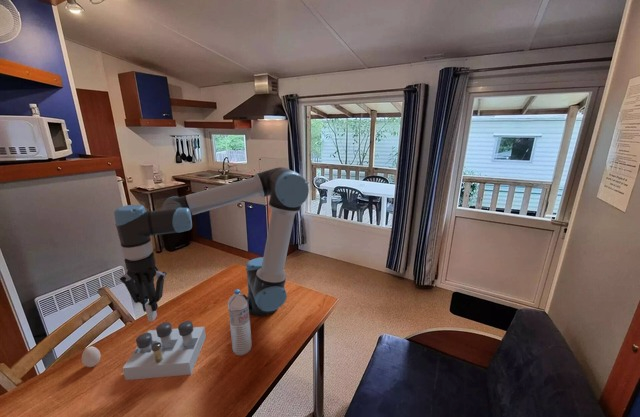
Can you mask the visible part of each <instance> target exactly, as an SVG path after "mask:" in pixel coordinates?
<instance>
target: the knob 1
mask: <svg viewBox="0 0 640 417" xmlns="http://www.w3.org/2000/svg"><path fill="white" fill-rule="evenodd" d="M152 341H153V340H152V335H151V333H147V332H144V333H141V334H140V335H138V336H137V337H136V339H135V343H136V348H137V347H138V348H141V352H142V353H148V352H151V350H152V348H151V343H152Z"/></svg>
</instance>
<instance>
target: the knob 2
mask: <svg viewBox="0 0 640 417" xmlns="http://www.w3.org/2000/svg"><path fill="white" fill-rule="evenodd" d="M193 324H194V323H193V322H192V321H191V320H185V321H183V322H181V323H179V325H178V326H177V328H178V330H179V335H181V336H182V339H183V344H184V346H189V345H191V344H192V343H193V338H192V332H193V327H194V325H193Z"/></svg>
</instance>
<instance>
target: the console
mask: <svg viewBox="0 0 640 417" xmlns="http://www.w3.org/2000/svg"><path fill="white" fill-rule="evenodd" d="M146 333H151V335H152V340H153V341H152V343H151V346H152V345H153V344H154V343H157V342H160V343H161V338H160V337H158V336H157V331H156V329H151V330H150V329H149V330H148V331H147V332H146ZM192 338H193V343H192V344H191V345H189V346H184V344H183V339H182V336H181V335H179V330H178V327H177V328H172V332H171V340H172V344H171V345H170V346H169V347H167V348H163V347H162V343H161V353H162V358H163V360H162V361H161V362H159V363H156V361H155V357H154V352H153V351H152V350H151V352H148V353H142V352H141V348H138V347H137V346H136V348H135V349H134V351H133V352H132V354H131V355H130V357H128V360H127V361H126V363H125V364H124V365H123V367H122V372H123V375H124V379H125V381H132V380H143V379H154V378H164V377H167V378H169V377H176V376H188V375H189V376H190V375H192V374H193V371H194V368H195V366H196V363H197V361H198V359H199V356H200V354H201V350H202V348H203V345H204V343H205V340H206V338H207V336H206V328H205V326H195V327H194V326H193V332H192Z"/></svg>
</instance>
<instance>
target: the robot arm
mask: <svg viewBox="0 0 640 417" xmlns="http://www.w3.org/2000/svg"><path fill="white" fill-rule="evenodd" d="M309 190H310V188H309V184H308V181H307V180H306V178H304V177H303V176H302V175H301V174H300V173H298V172H297V171H294V170H292V169H290V168H288V167H282V166H281V167H274V168H270V169H269V170H268V169H267V170H263V171H260V172H257V173H255V174H254V176H253V177H248V178H246V179H242V180H239V181H234V182H230V183H228V184H227V183H226V184H223V185H219V186H216V187H212V188H208V189H204V190H202V191H197V192H194V193H190V194H187V195H182V196H171V197H168V198H167V199H166V200H164V201H163V203H162V204H161V209H158V210H147V209H146V207H145V206H144V205H142V204H128V205H124V206H120V207H117V208H116V209H115V210H114V211H113V215H114V216H113V217H114V220H115V227H116V231H117V235H118V238H119V239H118V240H119V241H120V247H121V252H122V257H123V259H124V263H125V264H124V265H125V269H126V270H127V271H126V273H125V274H123V275H122V276H121V277H120V278H119V281H120V282H122V284H124V286H125V287H126V289H127V292H128V293H129V296H131V298H132V300H133V302H134V303H135V304H138V303H139V304H141V306H142V309H143V312H144V313H145V312H146V315H147V316H146V317H147V320H148V322H154V320H156V318H157V316H158V313H157V310H158V309H159V308H158V307H159V306H158V302H160V300H161V299H162V297H163V293H164V282H165V278H166V276H167V272H166V271H163V272H162V271H159V269H158V268H157V266H156V259H155V254H154V249H153V243H152V239H151V238H152V237H153V236H160V235H167V234H177V233H180V234H181V233H183V232H188V231H190V230H192V229H193V221H192V216H195V215H199V214H200V213H206V212H208V211H212V210H216V209H218V208H222V207H225V206H229V205H233V204H235V203H239V202H241V201H246V200H249V199H252V198H256V197H258V196H259V197H262V198H265V197H269V202H268V205H269V207H270V209H271V214H270V220H269V225H268V229H267V230H268V231H267V236H266V242H265V247H264V251H263V252H264V253H263V256H262V257H261V256H260V257H256V258H253V259H251V260H249V261H247V263H246V268H245V270H246V280H247V292H248V293H247V295H246V296H247V298H248V302H249V303H248V307H249V316H250V315H251V316H252V317H260V318H261V317H266V316H270V315H271V314H273V313H274V312H276V311H277V310H278V309H279V308H280V307H282V306H284V304H285V303H286V301H287V297H288V294H287V290H286V289H285V286H286V285H285V284H286V281H287V280H286V279H287V273H286V272H285V265H286V260H287V254H288V250H289V246H290V241H291V236H292V235H291V234H292V230H293V225H294V220H295V216H296V214H297V213H298V212H300V211H301V207H302V205H303V204H304V203H305V202H306V201H307V199H308V196H309V193H310V192H309ZM151 236H152V237H151ZM155 277H156V278H155ZM155 280H156V283H155V282H154V281H155Z"/></svg>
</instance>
